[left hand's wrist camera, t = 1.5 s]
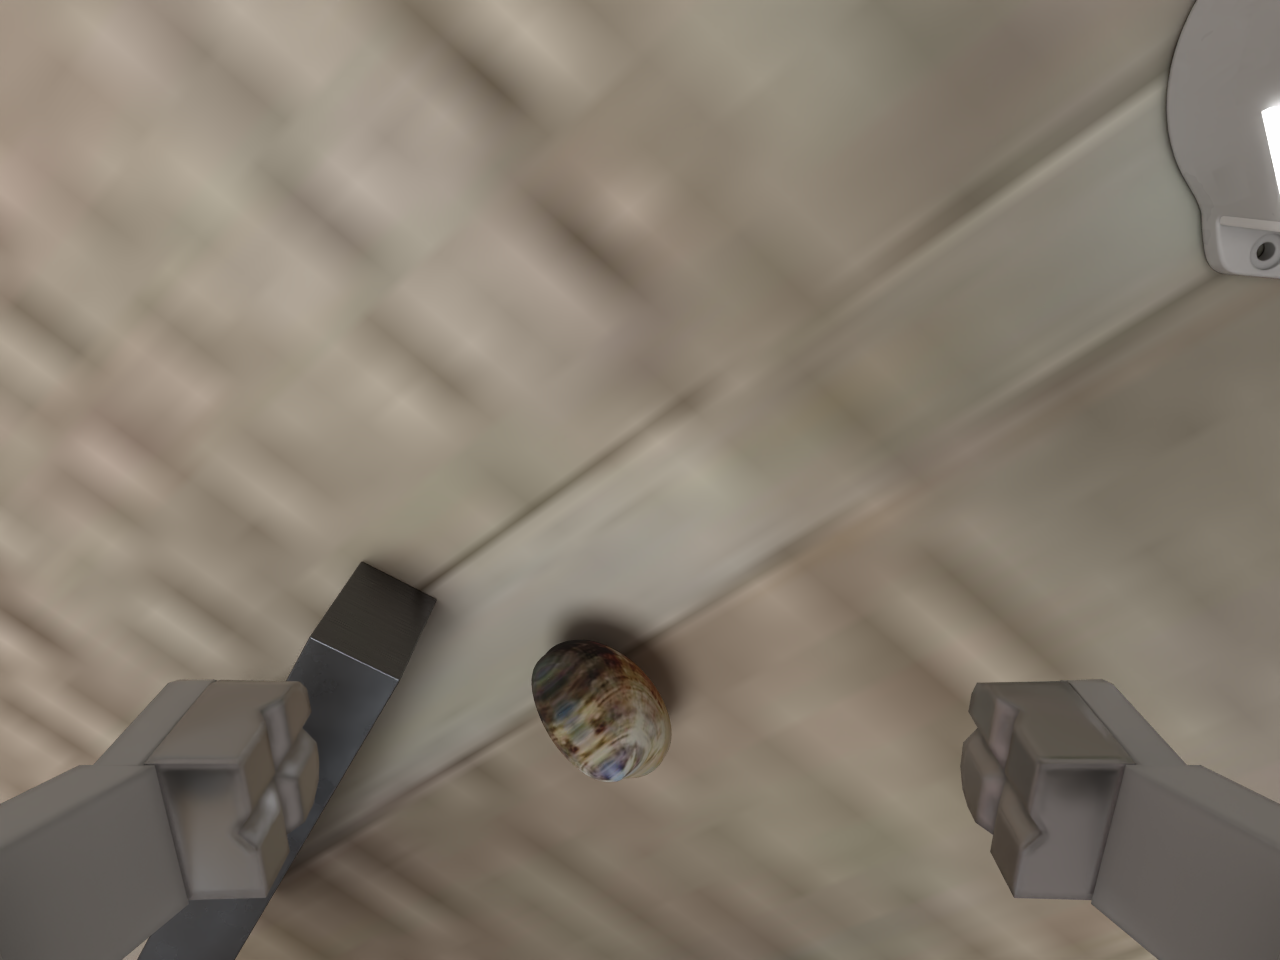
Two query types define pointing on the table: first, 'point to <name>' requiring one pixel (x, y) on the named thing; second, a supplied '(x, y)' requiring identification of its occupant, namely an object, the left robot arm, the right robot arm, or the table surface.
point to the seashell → (601, 710)
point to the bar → (318, 736)
